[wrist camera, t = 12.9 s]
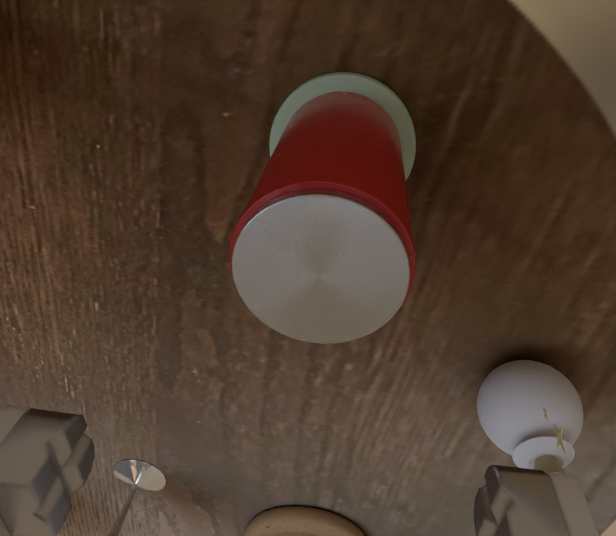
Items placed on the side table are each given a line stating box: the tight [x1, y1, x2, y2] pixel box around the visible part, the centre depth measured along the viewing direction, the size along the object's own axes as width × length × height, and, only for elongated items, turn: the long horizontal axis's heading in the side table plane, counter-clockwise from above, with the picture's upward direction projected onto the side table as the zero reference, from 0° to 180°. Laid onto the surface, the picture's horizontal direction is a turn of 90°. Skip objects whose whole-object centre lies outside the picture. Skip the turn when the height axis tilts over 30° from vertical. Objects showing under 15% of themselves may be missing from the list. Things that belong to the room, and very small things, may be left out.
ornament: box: [477, 360, 583, 474], centre depth 28 cm, size 6×7×10 cm
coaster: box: [269, 72, 416, 180], centre depth 25 cm, size 8×8×1 cm
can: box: [229, 92, 416, 344], centre depth 20 cm, size 6×6×12 cm
